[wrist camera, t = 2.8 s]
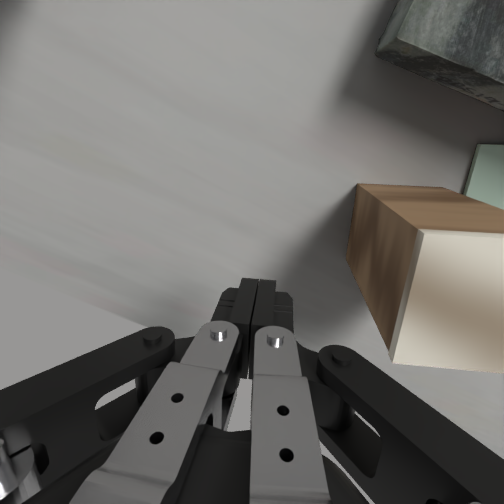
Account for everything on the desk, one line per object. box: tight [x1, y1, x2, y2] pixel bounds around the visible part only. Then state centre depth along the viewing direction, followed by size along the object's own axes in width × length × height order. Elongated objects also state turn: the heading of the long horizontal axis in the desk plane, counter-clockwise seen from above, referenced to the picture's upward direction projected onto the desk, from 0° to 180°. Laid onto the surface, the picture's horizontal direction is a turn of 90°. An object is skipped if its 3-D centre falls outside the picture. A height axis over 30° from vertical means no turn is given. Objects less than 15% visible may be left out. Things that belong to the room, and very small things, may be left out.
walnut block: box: [346, 184, 504, 374], centre depth 18 cm, size 6×6×12 cm
